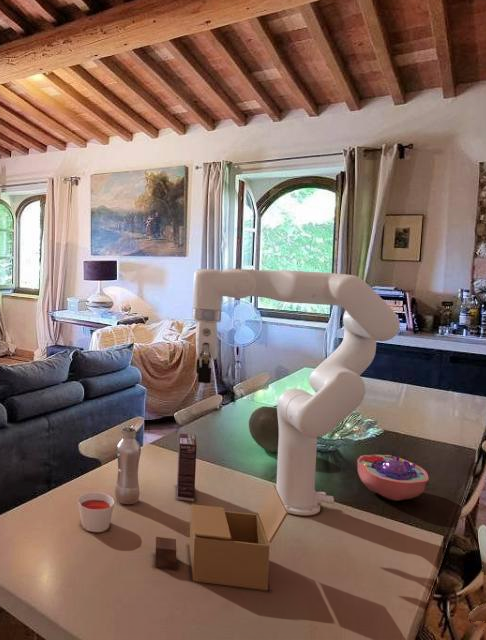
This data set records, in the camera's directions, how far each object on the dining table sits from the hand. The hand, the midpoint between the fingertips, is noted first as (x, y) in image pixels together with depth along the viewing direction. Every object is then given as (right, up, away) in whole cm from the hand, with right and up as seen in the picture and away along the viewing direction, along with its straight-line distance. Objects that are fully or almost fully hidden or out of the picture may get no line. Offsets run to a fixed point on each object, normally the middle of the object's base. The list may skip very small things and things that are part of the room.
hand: (203, 378), depth 141 cm
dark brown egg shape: (+33, -33, +40) cm, 61 cm away
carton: (-2, -36, -27) cm, 45 cm away
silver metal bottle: (-20, -34, +2) cm, 40 cm away
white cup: (-30, -35, -11) cm, 47 cm away
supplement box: (-3, -34, +7) cm, 35 cm away
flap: (+7, -23, -29) cm, 38 cm away
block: (-15, -36, -26) cm, 47 cm away
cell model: (+55, -35, +8) cm, 66 cm away
